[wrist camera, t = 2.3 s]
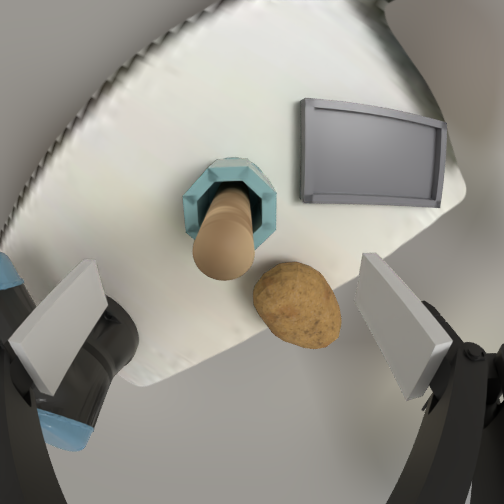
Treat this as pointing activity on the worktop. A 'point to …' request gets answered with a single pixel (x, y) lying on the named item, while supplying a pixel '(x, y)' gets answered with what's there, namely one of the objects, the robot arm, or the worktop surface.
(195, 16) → the worktop surface
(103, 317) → the robot arm
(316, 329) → the potato
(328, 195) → the tray
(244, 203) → the dowel
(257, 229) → the cup
